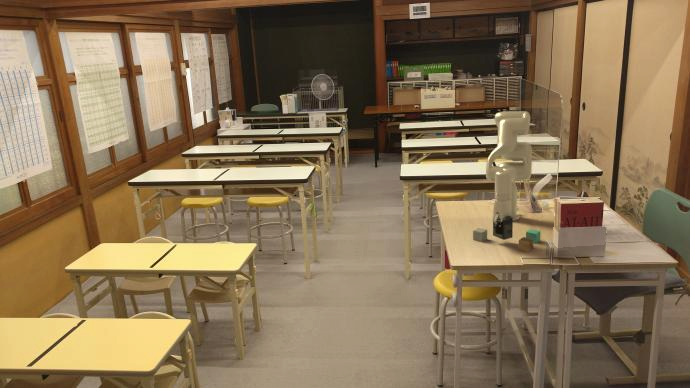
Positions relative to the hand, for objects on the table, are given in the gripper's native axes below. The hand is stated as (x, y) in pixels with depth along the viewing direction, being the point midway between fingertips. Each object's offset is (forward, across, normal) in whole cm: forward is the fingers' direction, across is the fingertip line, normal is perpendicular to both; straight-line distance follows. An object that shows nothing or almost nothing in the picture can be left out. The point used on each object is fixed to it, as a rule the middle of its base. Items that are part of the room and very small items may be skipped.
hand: (502, 231), depth 257 cm
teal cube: (+7, -11, +10) cm, 17 cm away
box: (+3, 0, 0) cm, 3 cm away
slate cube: (+7, +1, -12) cm, 13 cm away
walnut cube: (+6, +1, +12) cm, 14 cm away
